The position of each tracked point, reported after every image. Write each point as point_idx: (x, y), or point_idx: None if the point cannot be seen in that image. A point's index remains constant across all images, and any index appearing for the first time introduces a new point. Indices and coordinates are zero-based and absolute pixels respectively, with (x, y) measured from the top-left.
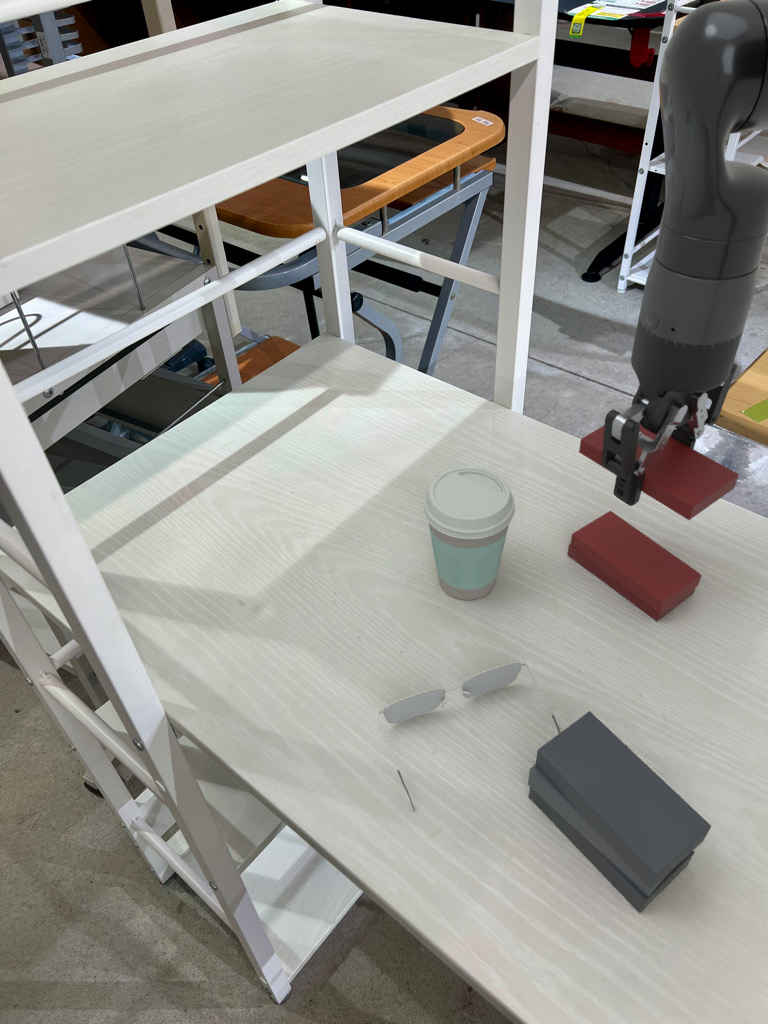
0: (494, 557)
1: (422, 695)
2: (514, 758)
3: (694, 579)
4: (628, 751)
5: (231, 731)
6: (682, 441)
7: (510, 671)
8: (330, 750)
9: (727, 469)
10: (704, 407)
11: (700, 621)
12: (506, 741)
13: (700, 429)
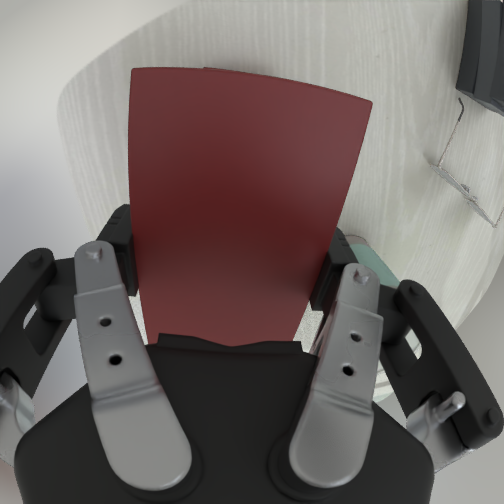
0: (376, 267)
1: (485, 215)
2: (472, 129)
3: (219, 69)
4: None
5: (490, 270)
6: (133, 259)
7: (444, 173)
8: (493, 228)
9: (135, 105)
10: (95, 365)
11: (240, 43)
12: (464, 140)
13: (92, 263)
